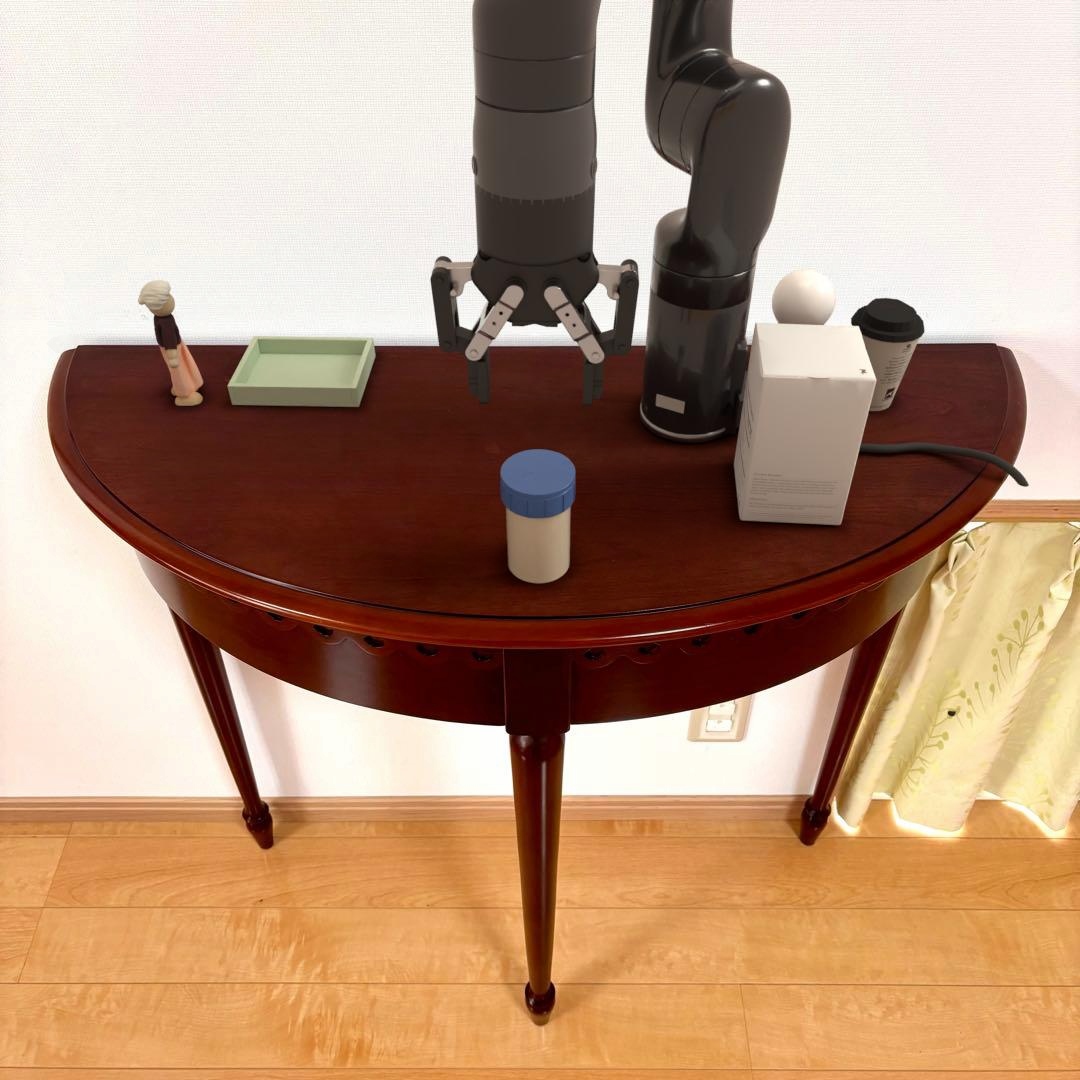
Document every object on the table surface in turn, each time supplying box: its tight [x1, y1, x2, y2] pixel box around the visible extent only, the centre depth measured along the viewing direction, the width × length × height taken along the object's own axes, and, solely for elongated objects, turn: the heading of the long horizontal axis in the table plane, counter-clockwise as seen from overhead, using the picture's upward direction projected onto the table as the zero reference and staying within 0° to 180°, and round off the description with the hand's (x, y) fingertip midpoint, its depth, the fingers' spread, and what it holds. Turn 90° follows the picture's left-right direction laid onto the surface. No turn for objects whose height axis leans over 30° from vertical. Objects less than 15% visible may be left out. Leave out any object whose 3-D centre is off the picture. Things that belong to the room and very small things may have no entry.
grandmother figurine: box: [137, 279, 204, 407], centre depth 96 cm, size 8×4×13 cm, turn 34°
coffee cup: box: [850, 297, 926, 412], centre depth 96 cm, size 7×7×10 cm
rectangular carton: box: [733, 321, 877, 526], centre depth 82 cm, size 9×9×15 cm
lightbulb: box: [771, 268, 837, 325], centre depth 100 cm, size 6×6×11 cm
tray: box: [226, 335, 377, 408], centre depth 102 cm, size 13×10×2 cm
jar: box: [505, 505, 572, 584], centre depth 78 cm, size 5×5×9 cm
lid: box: [499, 448, 577, 519], centre depth 75 cm, size 6×6×2 cm
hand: (535, 399), depth 70 cm, fingers open, 7 cm apart
